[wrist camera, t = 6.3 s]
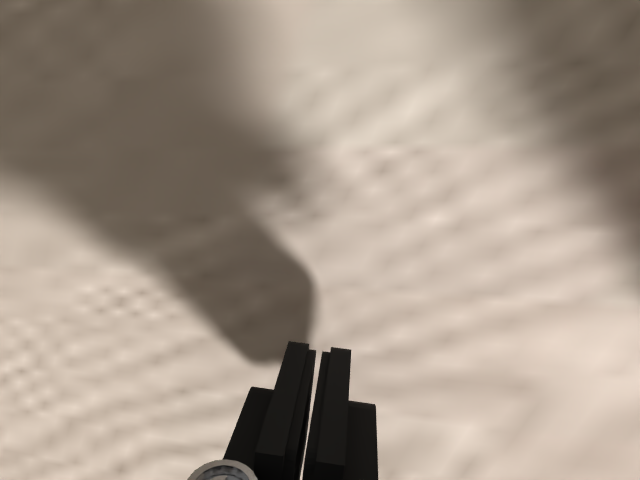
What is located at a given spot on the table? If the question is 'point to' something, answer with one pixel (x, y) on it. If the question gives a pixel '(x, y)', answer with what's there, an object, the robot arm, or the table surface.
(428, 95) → the table surface
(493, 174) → the table surface
